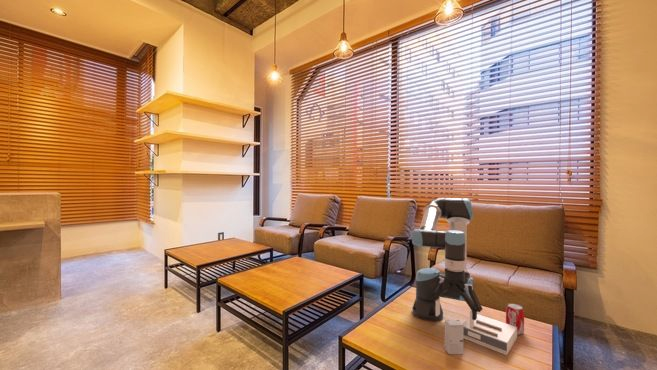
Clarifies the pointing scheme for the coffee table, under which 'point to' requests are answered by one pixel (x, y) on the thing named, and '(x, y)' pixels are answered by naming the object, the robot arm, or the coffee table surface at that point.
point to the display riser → (491, 333)
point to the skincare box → (454, 336)
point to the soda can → (515, 317)
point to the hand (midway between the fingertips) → (454, 320)
